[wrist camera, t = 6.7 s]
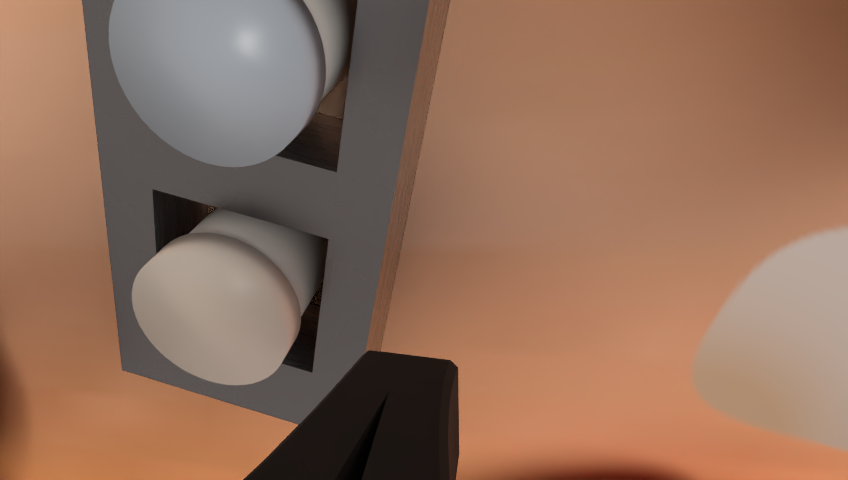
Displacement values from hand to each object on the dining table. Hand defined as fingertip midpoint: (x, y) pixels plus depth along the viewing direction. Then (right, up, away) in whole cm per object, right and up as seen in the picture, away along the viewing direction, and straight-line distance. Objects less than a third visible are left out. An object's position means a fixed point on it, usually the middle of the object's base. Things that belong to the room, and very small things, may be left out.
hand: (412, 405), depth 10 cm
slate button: (-3, +8, +7) cm, 12 cm away
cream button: (-5, +3, +11) cm, 12 cm away
